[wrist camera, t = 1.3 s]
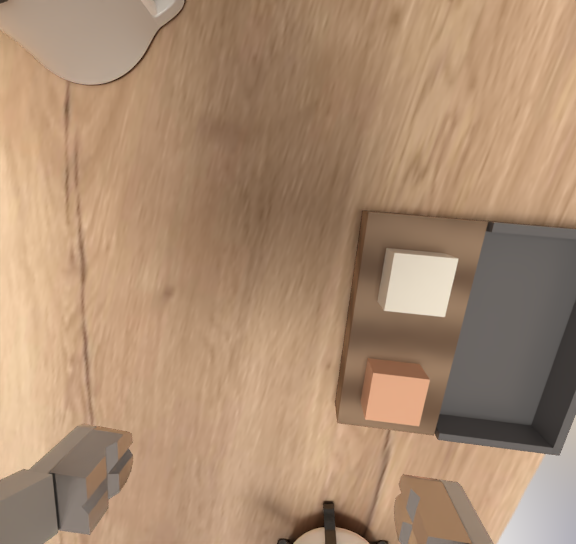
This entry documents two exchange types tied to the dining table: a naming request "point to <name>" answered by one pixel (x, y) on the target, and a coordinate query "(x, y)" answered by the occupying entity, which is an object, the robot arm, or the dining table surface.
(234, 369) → the dining table surface
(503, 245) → the box
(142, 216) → the dining table surface
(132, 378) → the dining table surface
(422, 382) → the terracotta tile
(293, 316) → the dining table surface
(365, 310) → the board
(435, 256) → the cream tile
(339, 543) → the coffee press
